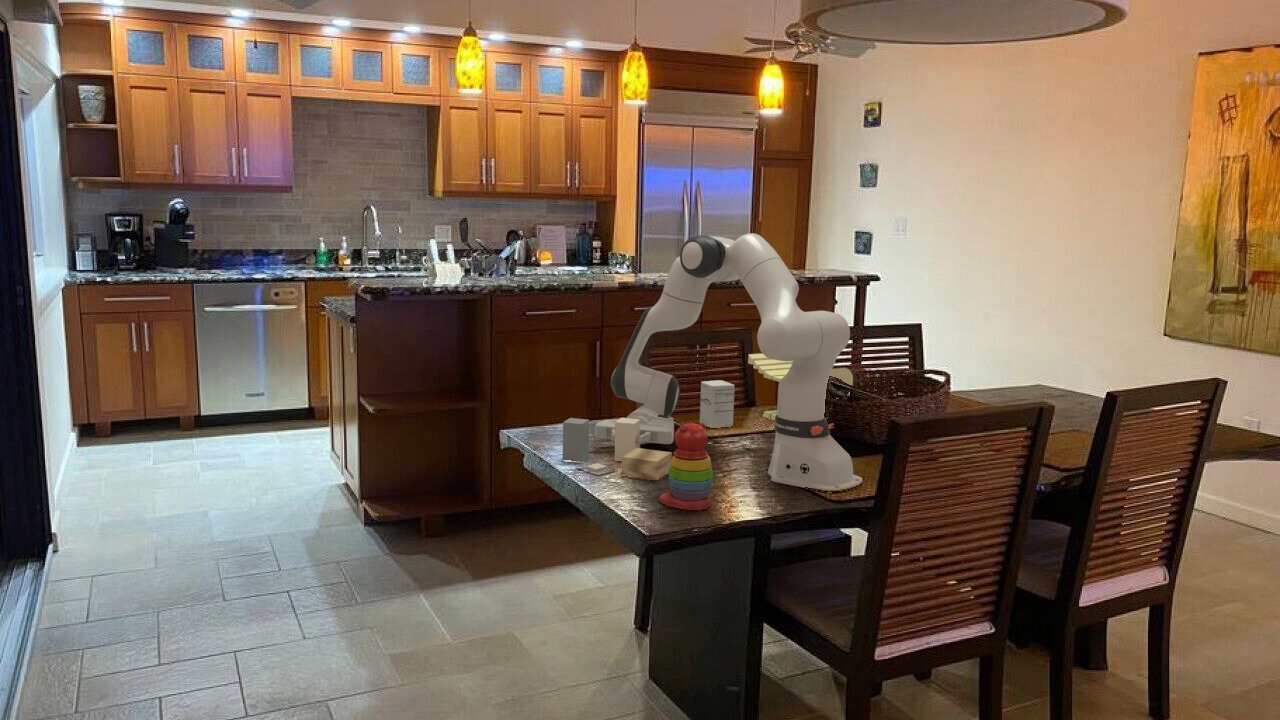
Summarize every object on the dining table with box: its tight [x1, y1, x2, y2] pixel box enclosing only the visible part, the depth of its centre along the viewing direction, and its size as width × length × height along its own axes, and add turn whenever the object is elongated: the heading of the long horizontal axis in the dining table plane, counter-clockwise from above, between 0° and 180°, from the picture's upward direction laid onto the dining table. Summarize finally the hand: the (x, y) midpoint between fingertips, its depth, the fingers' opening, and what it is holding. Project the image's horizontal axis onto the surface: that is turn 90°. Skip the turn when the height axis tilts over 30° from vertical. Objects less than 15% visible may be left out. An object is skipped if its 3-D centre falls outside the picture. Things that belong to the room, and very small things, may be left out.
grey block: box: [562, 417, 590, 462], centre depth 236 cm, size 5×5×10 cm
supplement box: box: [699, 379, 735, 429], centre depth 276 cm, size 7×7×13 cm
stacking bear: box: [658, 422, 714, 511], centre depth 203 cm, size 11×10×18 cm
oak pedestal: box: [621, 447, 673, 481], centre depth 226 cm, size 9×9×5 cm
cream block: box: [614, 417, 641, 462], centre depth 238 cm, size 5×5×10 cm
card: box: [586, 462, 617, 473], centre depth 229 cm, size 8×6×1 cm
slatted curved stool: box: [747, 352, 854, 420], centre depth 285 cm, size 30×16×18 cm, turn 28°
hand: (626, 439), depth 237 cm, fingers closed on cream block, 5 cm apart
